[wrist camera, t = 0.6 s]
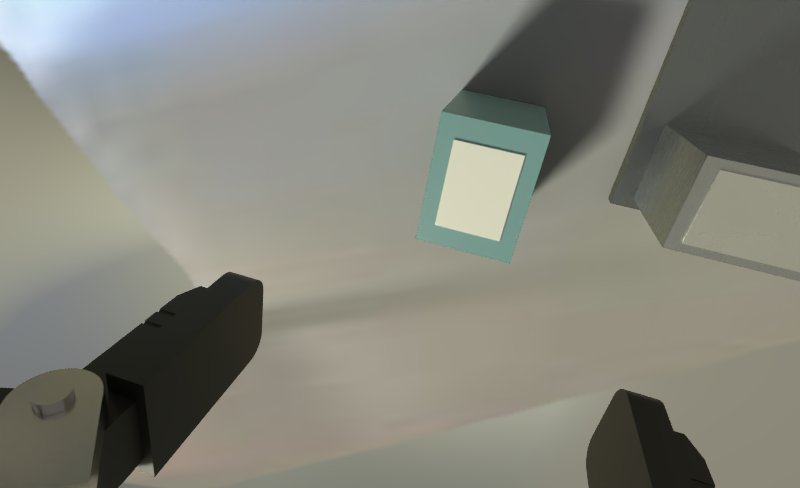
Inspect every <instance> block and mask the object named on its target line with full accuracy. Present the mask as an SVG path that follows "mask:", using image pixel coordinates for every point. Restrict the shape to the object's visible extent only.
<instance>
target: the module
mask: <svg viewBox="0 0 800 488" xmlns="http://www.w3.org/2000/svg"><path fill="white" fill-rule="evenodd" d="M550 138H551V132H550V128H549V123H548V119H547V114H546V110H545V107H542V106H537V105H532V104H528V103H523V102H518V101H513V100H509V99H504V98H499V97H495V96H490V95H485V94H480V93H476V92H471V91H466V90H461V91H460V92H459V93H458V95H457V96H456V97H455V98H454V99H453V100H452V101H451V102H450V103H449V104H448V105H447V106H446V107H445V108H444V109H443V110H442V112H441V117H440V122H439V127H438V131H437V136H436V141H435V146H434V151H433V156H432V161H431V166H430V171H429V175H428V180H427V185H426V190H425V195H424V200H423V205H422V210H421V215H420V220H419V224H418V229H417V234H416V239H418V240H421V241H425V242H429V243H433V244H437V245H440V246H444V247H448V248H452V249H456V250H459V251H463V252H467V253H471V254H475V255H479V256H482V257H486V258H490V259H494V260H498V261H501V262H505V263H509V264H510V262H511V259H512V256H513V253H514V250H515V246H516V243H517V240H518V237H519V234H520V231H521V228H522V225H523V222H524V218H525V215H526V212H527V209H528V206H529V203H530V200H531V197H532V194H533V191H534V187H535V184H536V181H537V178H538V175H539V172H540V169H541V166H542V163H543V159H544V156H545V153H546V150H547V147H548V144H549V141H550Z"/></svg>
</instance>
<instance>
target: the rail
mask: <svg viewBox="0 0 800 488" xmlns="http://www.w3.org/2000/svg"><path fill="white" fill-rule="evenodd" d="M609 201H610V203H612V204H617V205H621V206H625V207H629V208H634V209H638V210H640V211H641V213H642V214H643V216H644V217H645V219H646V221H647V222H648V224H649V226H650V227H651V229H652V231H653V232H654V234H655V236H656V237H657V239H658V241H659V242H660V244H661V246H662V247H663V248H667V249H671V250H675V251H679V252H683V253H688V254H692V255H696V256H700V257H704V258H708V259H712V260H716V261H720V262H724V263H728V264H732V265H736V266H740V267H744V268H749V269H753V270H757V271H761V272H765V273H769V274H773V275H777V276H781V277H785V278H789V279H793V280H797V281H800V0H689V1H688V4H687V6H686V9H685V11H684V14H683V16H682V18H681V21H680V23H679V26H678V28H677V31H676V33H675V36H674V38H673V41H672V43H671V45H670V48H669V50H668V53H667V55H666V58H665V60H664V63H663V65H662V68H661V70H660V72H659V75H658V77H657V80H656V82H655V85H654V87H653V90H652V92H651V95H650V97H649V99H648V102H647V104H646V107H645V109H644V112H643V114H642V117H641V119H640V122H639V124H638V127H637V129H636V131H635V134H634V136H633V139H632V141H631V144H630V146H629V149H628V151H627V154H626V156H625V158H624V161H623V163H622V166H621V168H620V171H619V173H618V176H617V178H616V181H615V183H614V185H613V188H612V190H611V193H610V195H609Z"/></svg>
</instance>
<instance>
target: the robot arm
mask: <svg viewBox="0 0 800 488" xmlns="http://www.w3.org/2000/svg"><path fill="white" fill-rule="evenodd" d="M262 310H263V284H262V282H261V281H259V280H256V279H253V278H249V277H246V276H243V275H239V274H236V273H232V272H228V273H226V274H224V275H223V276H222V277H220V278H219V279H218V280H217V281H216V282H214V283H213V284H212V285H211V286H210V287H208V288H205V287H202V286H200V287H197V288H195V289H192V290H190V291H187V292H185V293H182V294H180V295H177V296H176V297H175V298H174V299H172V300H171V301H170V302H168V303H167V304H166V305H164V306H163V307H162V308H161V309H160V311H159V312H155V313H154V314H153V315H152V316H150V317H149V318H148V319H147V320H145V323H144V324H142V323H141V324H140V325H139V326H137V327H136V328H135V329H134V330H132V331H131V332H130V333H129V334H127V335H126V336H125V337H123V338H122V339H121V340H119V341H118V342H117V343H115V344H114V345H113V346H112V347H111V348H109V349H108V350H106V351H105V352H104V353H103V354H101V355H100V356H99V357H97V358H96V359H95V360H94V361H92V362H91V363H90V364H89V365H87V366H86V367H85V368H83V369H77V368H68V369H59V370H53V371H49V372H46V373H43V374H40V375H37V376H35V377H33V378H31V379H29V380H27V381H25V382H23V383H22V384H20V385H19V386H17V387H16V388H0V488H121V484H122V483H123V482H124V481H125V479H126V478H127V477H128V476H129V475H130V474H131V473H132V472H133V470H137V471H139V472H142V473H145V474H147V475H150V476H153V477H155V476H156V475H157V474H158V472H159V471H160V470H161V469H162V468H163V466H164V465H165V464H166V463H167V462H168V460H169V459H170V458H171V457H172V455H173V454H174V453H175V452H176V451H177V449H178V448H179V447H180V446H181V444H182V443H183V442H184V441H185V440H186V438H187V437H188V436H189V435H190V434H191V432H192V431H193V430H194V429H195V427H196V426H197V425H198V424H199V423H200V421H201V420H202V419H203V418H204V417H205V415H206V414H207V413H208V412H209V410H210V409H211V408H212V407H213V406H214V404H215V403H216V402H217V401H218V399H219V398H220V397H221V396H222V395H223V393H224V392H225V391H226V390H227V389H228V387H229V386H230V385H231V384H232V382H233V381H234V380H235V379H236V378H237V376H238V375H239V374H240V373H241V372H242V370H243V369H244V368H245V367H246V365H247V364H248V363H249V362H250V361H251V359H252V358H253V356H254V355H255V353H256V351H257V348H258V346H259V343H260V339H261V334H262ZM586 469H587V477H588V485H589V488H715V484H714V482H713V479H712V477H711V474H710V472H709V469H708V467H707V464H706V462H705V460H704V458H703V457H702V456H701V455H700V453H699V452H698V451H697V449H696V448H695V447H694V446H693V445H692V443H691V442H690V441H689V439H688V438H687V437H686V436H685V435H684V434H682V433H678V432H675V431H673V428H672V426H671V423H670V420H669V417H668V415H667V412H666V409H665V406H664V404H663V403H662V402H661V401H660V400H658V399H654V398H651V397H647V396H644V395H641V394H638V393H634V392H631V391H627V390H624V389H620V390H618V391H617V392H616V393H615V395H614V396H613V398H612V400H611V402H610V404H609V406H608V408H607V410H606V412H605V413H604V415H603V417H602V419H601V421H600V423H599V425H598V427H597V428H596V430H595V432H594V434H593V436H592V438H591V440H590V443H589V446H588V451H587V458H586Z"/></svg>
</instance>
